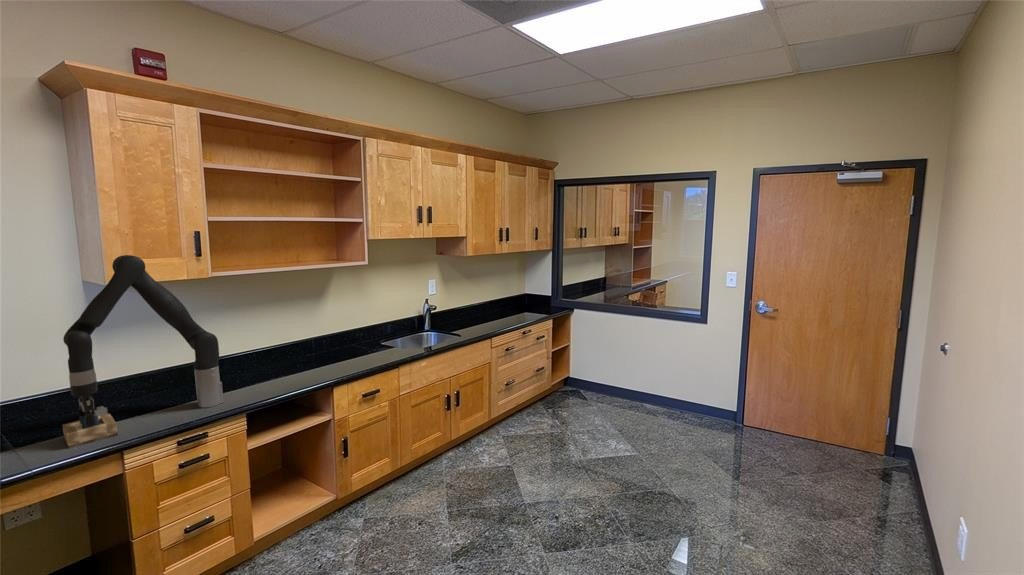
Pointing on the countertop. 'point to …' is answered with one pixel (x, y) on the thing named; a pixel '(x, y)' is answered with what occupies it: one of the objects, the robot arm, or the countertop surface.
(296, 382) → the countertop surface
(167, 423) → the countertop surface
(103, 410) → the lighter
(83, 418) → the vaping device
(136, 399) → the countertop surface
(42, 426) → the countertop surface
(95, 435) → the block
